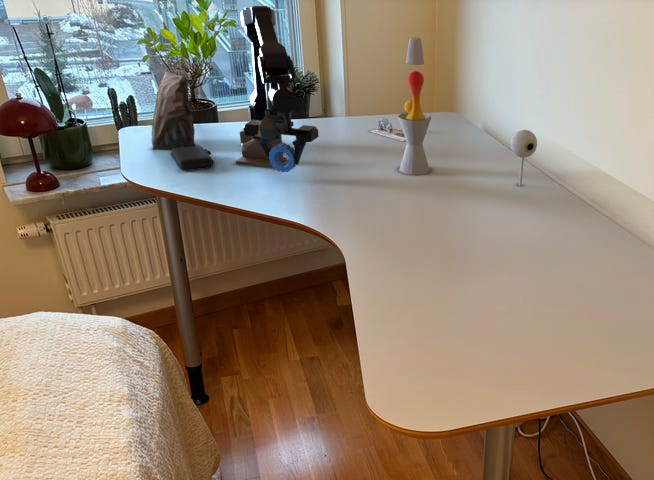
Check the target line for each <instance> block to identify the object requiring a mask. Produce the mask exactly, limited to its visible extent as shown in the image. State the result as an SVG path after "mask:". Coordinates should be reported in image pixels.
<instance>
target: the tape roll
mask: <svg viewBox="0 0 654 480" xmlns="http://www.w3.org/2000/svg"><path fill="white" fill-rule="evenodd" d="M279 151H280V152H283V154H284V155H286V157H287V159H288V163H285V162H284V163H282V162H281V161H280V160H279V158H278V153H279ZM269 155H270V156H269V160H270V163H271V165H272V166H273V168H272V169H274V168H275V171H277V172H281V173H289V172H290V171H291V170H294V168H296V166H297V165H296V164H295V149H294V146H291V145H290V144H288V143H287V144H286V143H285V142H282V144H281V143H280V144H278V145H276V146H275V147H273V148H272V149H271V151H270V152H269Z"/></svg>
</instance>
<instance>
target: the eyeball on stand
mask: <svg viewBox="0 0 654 480" xmlns="http://www.w3.org/2000/svg"><path fill="white" fill-rule="evenodd" d="M537 147H538V139H537V137H536V135H535V134H534V133H533V131H531V130H529V129H520V130H518V131H516V132H515V133H514V134H513V136H511V138H510V148H511V151H512V153H513V154H514V155H515V156H517V157H519V158H521V159H520V169H519V181H518V186H519V187H521V186H522V183H523V172H524V161H525V158H529V157H530V156H532V155H533V154H534V153H535V152H536V151H537Z"/></svg>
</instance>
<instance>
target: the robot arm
mask: <svg viewBox="0 0 654 480" xmlns="http://www.w3.org/2000/svg"><path fill="white" fill-rule="evenodd" d="M275 17H276V15H275V10H274V9H273V8H271V7H270V6H268V5H253V6H250V7H244V9H242V10H241V12H240V22H241V26H242V27H243V29H244V31H245V34H246V36H247V38H248V39H249V41H250V44H251V59H252V69H253V70H252V71H253V83H254V90H253V92H252V93H251V95H250V97H249V103H250V105H248V109H247V110H248V113H247V114H248V115H247V118H248V122H246V123H245V124H244V125H243V128H242V131H244V135H246V136H253V137H252V138H253V139H255V140H257V141H258V142H259V143H260V144H261V146H262V148H263V150H264V152H265V154H266V156H267V158H268V160H269V156H270V155H269V152H270V151H271V149H272V140H278V139H279V137H280V135H281V136H282V135H283V136H294V137H295V140H293V141H292V142H291V143H292V145H293V148H294V151H295V164H296V166H298V165H299V164H300V161H301V157H302V155H303V152H304V149H305V146H306V145H307V143H312V142H314V141H316V140H317V139H318V138H319V129H318V128H317V126H316V125H306V124H302V125H301V126H300V127H298V128H296V127H294V126H295V125H294V121H292V111H293V110H294V109H295V107H296V106H297V98H296V96H295V95H296V94H294V92H293V91H292V90H291V89H290V83H293V84H294V83H295V82H296V81H295V78H296V77H297V76H296V70H295V66H294V62H293V59H291V56H290V55H289V54H288V52H287V50H286V47H285V46H284V45H283V44H281V43H279V39H278V37H277V36H278V35H277V33H276V30H275V26H276V24H277V23H276V22H277V21H276V18H275ZM293 127H294V128H293ZM269 162H270V160H269Z"/></svg>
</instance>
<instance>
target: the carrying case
mask: <svg viewBox="0 0 654 480" xmlns="http://www.w3.org/2000/svg"><path fill="white" fill-rule="evenodd" d="M169 155H170V157H171V158H172V160H173V162H174V164H175V165H176V166H177V168H179V170H181V171H183V172H185V171H186V172H187V171H196V170H202V169H204V170H205V169H211V168H212V166H213V165H214V164H215V161H214V159H213V157H212V152H211V150H208V149H206V148H203V146H200V145H196V146H193V147H182V148H174V149H173V150H170V153H169Z"/></svg>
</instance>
